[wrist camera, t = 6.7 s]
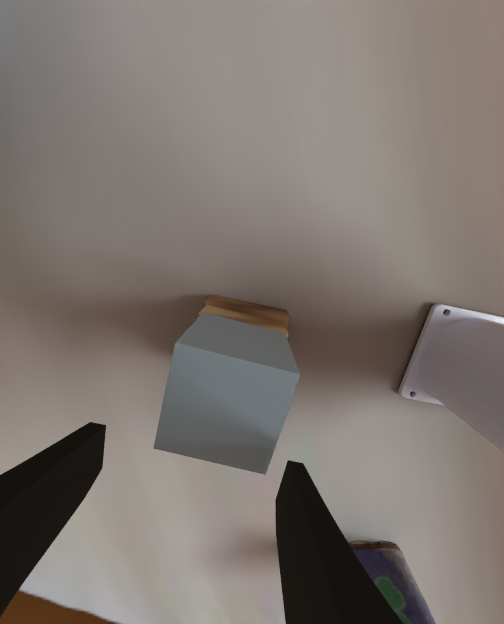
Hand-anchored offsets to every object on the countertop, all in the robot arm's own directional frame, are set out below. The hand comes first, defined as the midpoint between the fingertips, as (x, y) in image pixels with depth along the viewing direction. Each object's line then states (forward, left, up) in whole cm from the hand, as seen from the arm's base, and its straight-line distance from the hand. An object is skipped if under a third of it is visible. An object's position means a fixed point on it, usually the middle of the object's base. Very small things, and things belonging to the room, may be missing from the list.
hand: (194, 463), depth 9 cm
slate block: (-1, -2, -6) cm, 6 cm away
